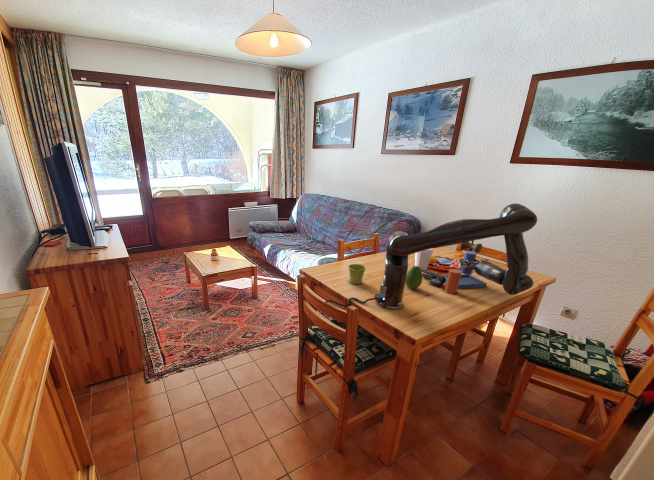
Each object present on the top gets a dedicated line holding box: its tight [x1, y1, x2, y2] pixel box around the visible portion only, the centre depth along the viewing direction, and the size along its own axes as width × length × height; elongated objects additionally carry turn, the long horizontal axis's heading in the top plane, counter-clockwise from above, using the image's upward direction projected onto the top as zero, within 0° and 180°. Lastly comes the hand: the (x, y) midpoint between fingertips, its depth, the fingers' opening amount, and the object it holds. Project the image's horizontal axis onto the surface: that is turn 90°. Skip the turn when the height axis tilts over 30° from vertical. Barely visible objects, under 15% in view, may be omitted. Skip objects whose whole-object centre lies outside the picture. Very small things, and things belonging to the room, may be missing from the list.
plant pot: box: [347, 263, 367, 285], centre depth 163 cm, size 9×9×9 cm
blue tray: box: [442, 273, 488, 289], centre depth 164 cm, size 16×14×2 cm
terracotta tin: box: [444, 268, 462, 295], centre depth 152 cm, size 5×5×11 cm
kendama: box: [460, 240, 483, 268], centre depth 181 cm, size 6×10×20 cm, turn 28°
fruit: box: [405, 265, 423, 290], centre depth 155 cm, size 8×8×12 cm
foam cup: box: [414, 248, 435, 270], centre depth 182 cm, size 10×9×13 cm
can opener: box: [421, 269, 447, 287], centre depth 165 cm, size 18×7×6 cm, turn 12°
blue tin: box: [460, 250, 478, 275], centre depth 160 cm, size 5×5×11 cm
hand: (465, 259), depth 162 cm, fingers closed on blue tin, 5 cm apart
